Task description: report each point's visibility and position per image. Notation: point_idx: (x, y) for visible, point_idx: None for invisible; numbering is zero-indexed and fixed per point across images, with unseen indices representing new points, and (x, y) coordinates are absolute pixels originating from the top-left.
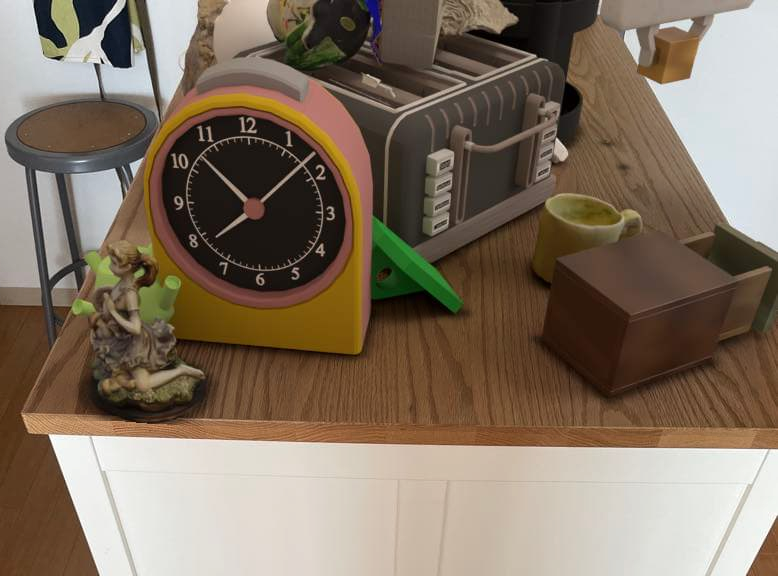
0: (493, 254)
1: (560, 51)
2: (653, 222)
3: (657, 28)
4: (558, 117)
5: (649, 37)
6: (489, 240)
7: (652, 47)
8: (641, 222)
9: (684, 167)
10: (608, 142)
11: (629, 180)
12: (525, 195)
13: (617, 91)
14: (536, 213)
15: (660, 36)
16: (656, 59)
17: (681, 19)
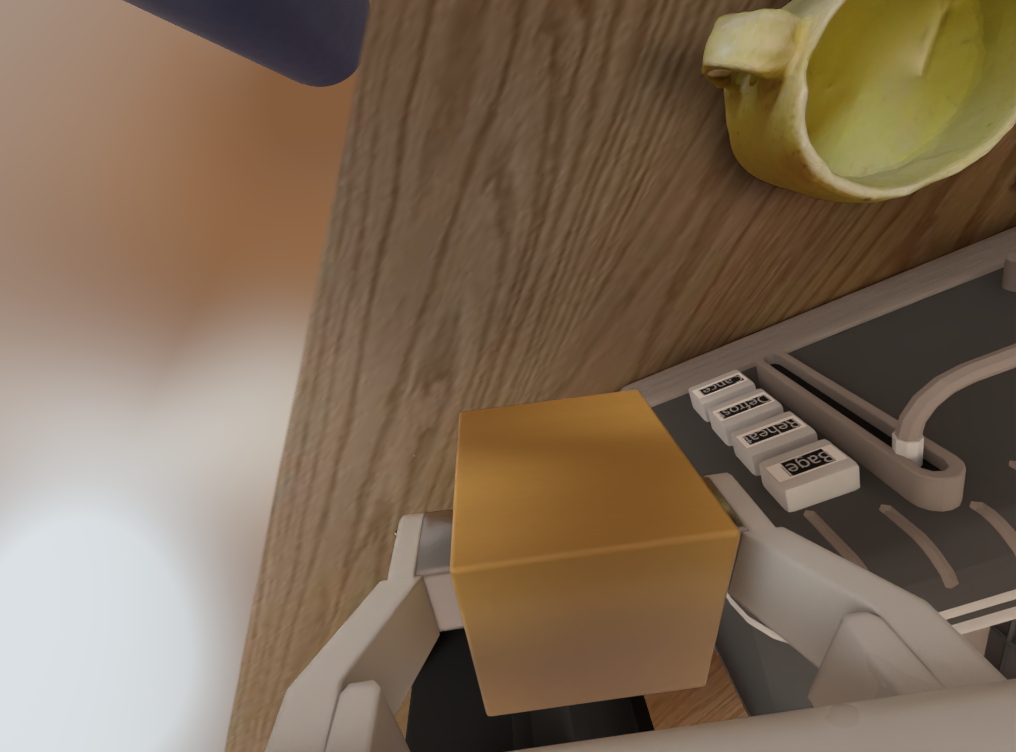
0: (851, 238)
1: (435, 732)
2: (480, 245)
3: (894, 657)
4: None
5: (902, 593)
6: (816, 290)
7: (790, 542)
8: (735, 15)
9: (293, 427)
10: (395, 532)
11: (430, 412)
12: (722, 368)
13: (288, 659)
14: (671, 353)
15: (695, 626)
16: None
17: (731, 730)
